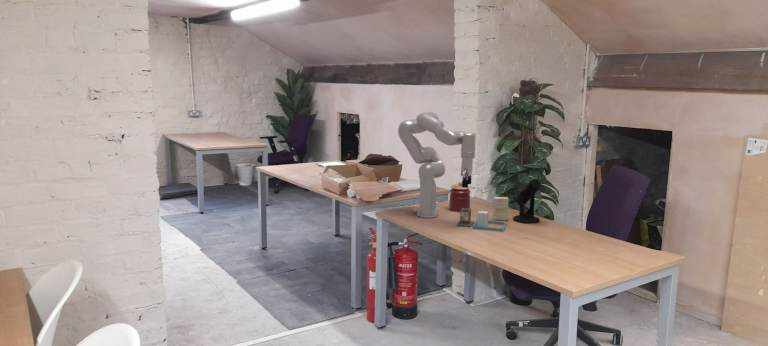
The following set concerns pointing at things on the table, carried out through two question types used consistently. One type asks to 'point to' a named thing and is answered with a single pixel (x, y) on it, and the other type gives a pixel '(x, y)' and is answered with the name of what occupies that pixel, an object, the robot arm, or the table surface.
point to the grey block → (482, 218)
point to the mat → (465, 224)
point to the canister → (459, 197)
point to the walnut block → (465, 216)
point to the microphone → (523, 198)
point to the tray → (490, 227)
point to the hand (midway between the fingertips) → (466, 185)
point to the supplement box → (500, 208)
